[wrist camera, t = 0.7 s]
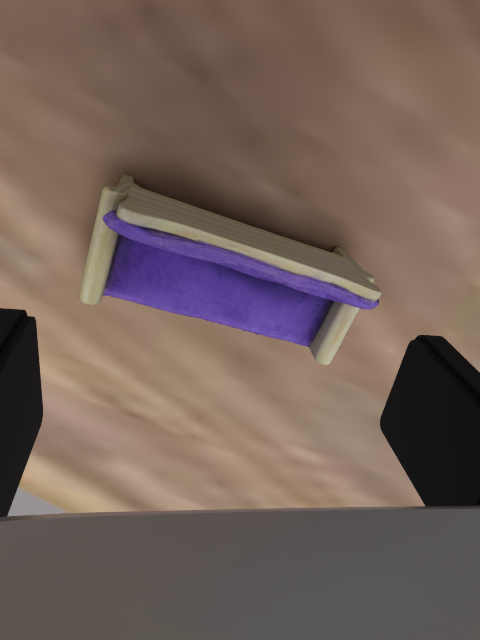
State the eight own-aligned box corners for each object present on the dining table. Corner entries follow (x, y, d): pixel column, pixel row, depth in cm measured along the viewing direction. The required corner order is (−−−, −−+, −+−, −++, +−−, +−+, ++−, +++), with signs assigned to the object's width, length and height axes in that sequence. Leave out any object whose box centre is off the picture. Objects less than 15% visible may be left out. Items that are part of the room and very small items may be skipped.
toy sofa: (89, 268, 37) (64, 328, 29) (113, 167, 34) (93, 200, 25) (309, 328, 43) (344, 394, 34) (349, 247, 40) (400, 298, 31)
